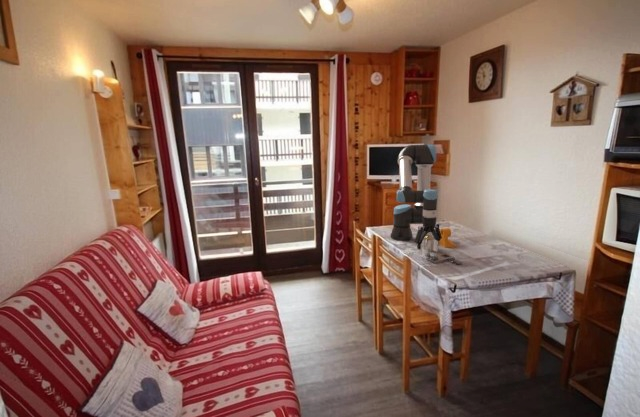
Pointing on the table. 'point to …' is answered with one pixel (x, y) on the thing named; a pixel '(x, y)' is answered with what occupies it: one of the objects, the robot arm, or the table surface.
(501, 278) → the table surface
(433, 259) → the chain end
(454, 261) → the grey latch plate
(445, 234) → the bracket
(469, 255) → the table surface
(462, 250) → the table surface
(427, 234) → the mug
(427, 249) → the pin
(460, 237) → the table surface
